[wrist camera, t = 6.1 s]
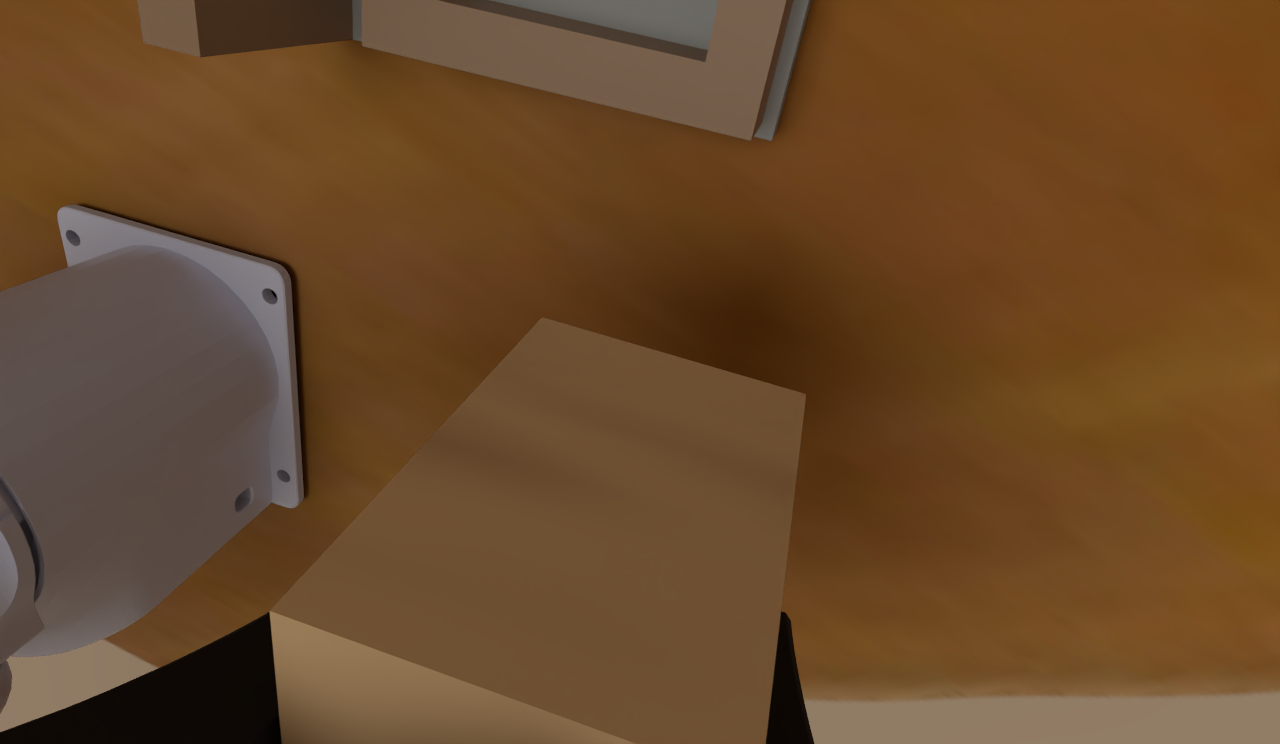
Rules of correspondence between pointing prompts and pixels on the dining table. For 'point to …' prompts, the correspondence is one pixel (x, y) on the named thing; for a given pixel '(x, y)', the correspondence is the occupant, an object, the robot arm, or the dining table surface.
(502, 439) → the light wooden block
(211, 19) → the stand
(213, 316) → the robot arm
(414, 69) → the dining table surface
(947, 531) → the dining table surface
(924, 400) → the dining table surface
